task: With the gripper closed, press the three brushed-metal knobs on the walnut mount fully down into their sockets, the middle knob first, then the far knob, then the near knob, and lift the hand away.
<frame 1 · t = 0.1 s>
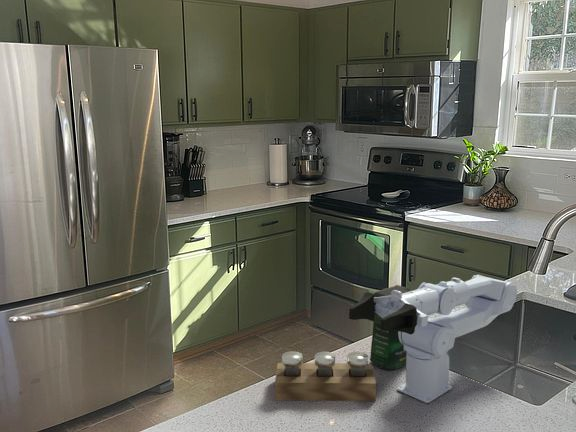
hand: (366, 319, 104), 22 cm above the counter, tool horizontal, fingers open, 7 cm apart
near knob: (357, 368, 120), point 5 cm above the counter, slide at 0.0 cm
middle knob: (324, 368, 121), point 5 cm above the counter, slide at 0.0 cm
far knob: (292, 367, 121), point 5 cm above the counter, slide at 0.0 cm
walnut mount: (324, 389, 122), on the counter
coffee jar: (390, 363, 134), on the counter
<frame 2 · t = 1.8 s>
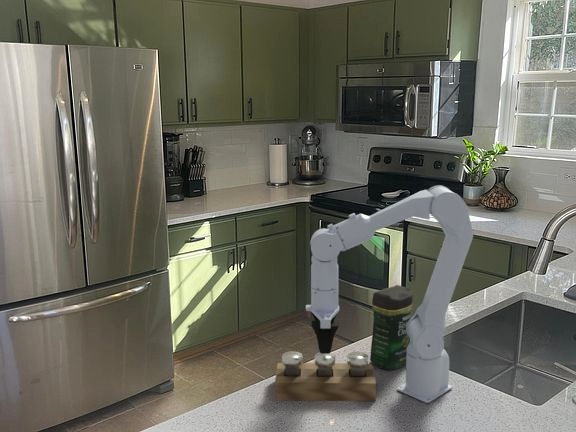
hand: (324, 347, 120), 10 cm above the counter, tool pointing down, fingers open, 5 cm apart
nothing on the counter moved.
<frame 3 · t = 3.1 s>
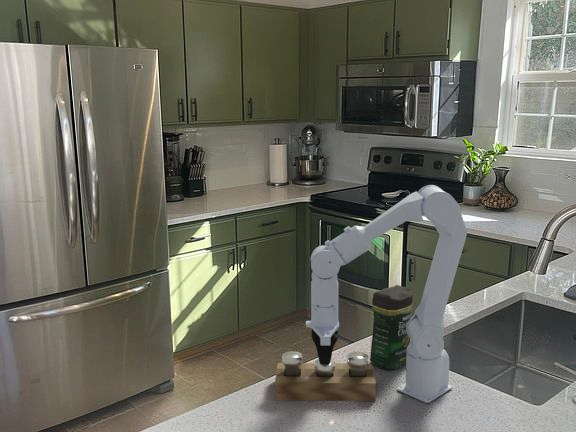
hand: (324, 362, 121), 6 cm above the counter, tool pointing down, fingers closed, pressing on middle knob
middle knob: (324, 374, 121), point 4 cm above the counter, slide at 1.6 cm, touching gripper
everything else where it was.
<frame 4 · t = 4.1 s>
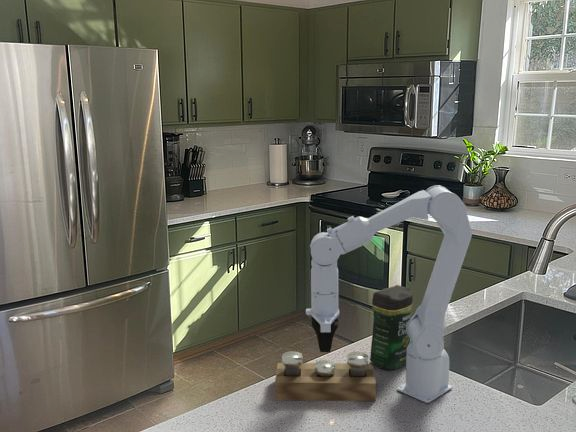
hand: (325, 350, 120), 9 cm above the counter, tool pointing down, fingers closed
middle knob: (324, 376, 121), point 3 cm above the counter, slide at 2.0 cm
everything else where it was.
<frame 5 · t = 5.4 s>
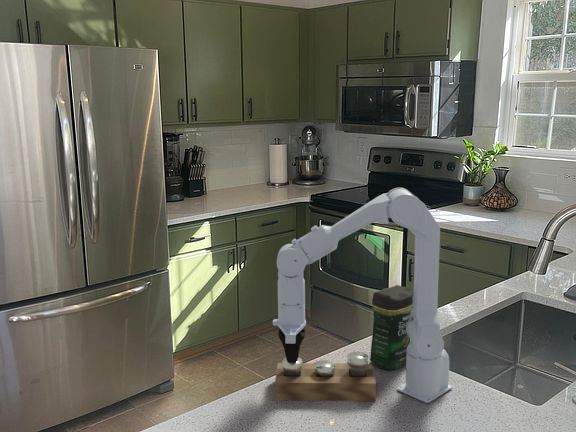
hand: (292, 361, 121), 7 cm above the counter, tool pointing down, fingers closed, pressing on far knob
far knob: (292, 373, 121), point 4 cm above the counter, slide at 1.2 cm, touching gripper
everything else where it was.
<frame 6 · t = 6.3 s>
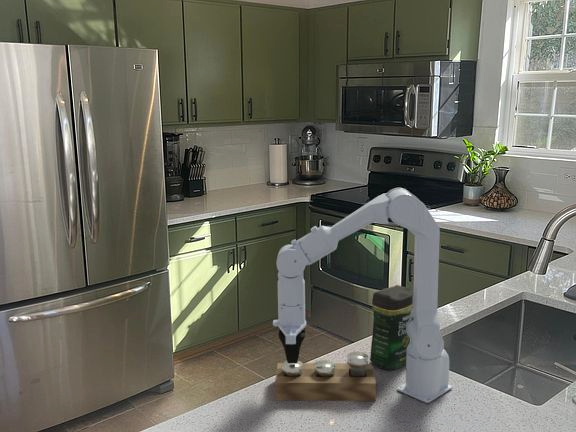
hand: (292, 361, 121), 7 cm above the counter, tool pointing down, fingers closed
far knob: (292, 376, 122), point 3 cm above the counter, slide at 2.0 cm
everything else where it was.
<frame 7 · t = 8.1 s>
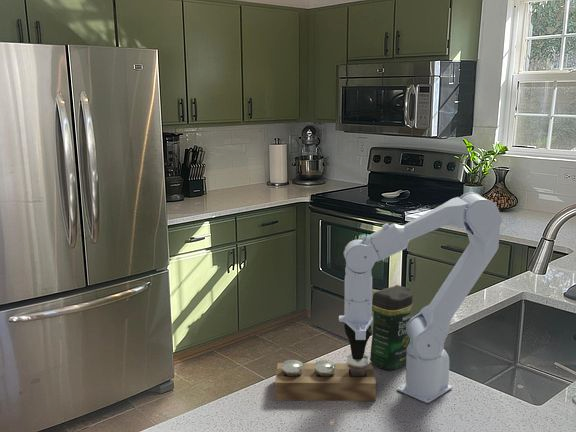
hand: (357, 357, 120), 8 cm above the counter, tool pointing down, fingers closed, pressing on near knob
near knob: (357, 369, 121), point 5 cm above the counter, slide at 0.4 cm, touching gripper
everything else where it was.
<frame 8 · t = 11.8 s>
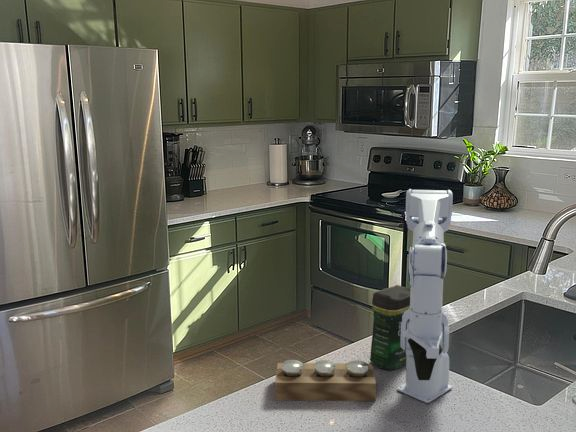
hand: (423, 378, 105), 10 cm above the counter, tool pointing down, fingers closed
near knob: (357, 377, 121), point 3 cm above the counter, slide at 2.0 cm
everything else where it was.
at the end: middle knob slide at 2.0 cm; far knob slide at 2.0 cm; near knob slide at 2.0 cm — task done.
